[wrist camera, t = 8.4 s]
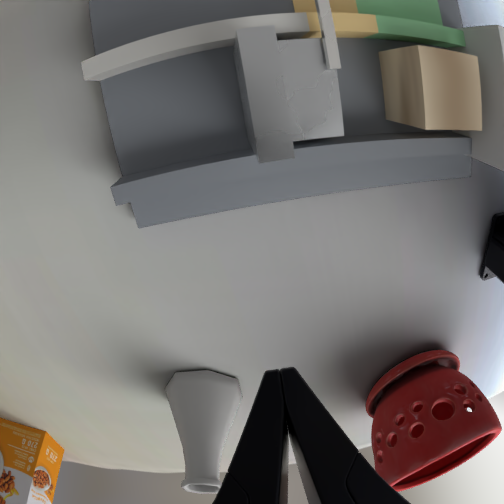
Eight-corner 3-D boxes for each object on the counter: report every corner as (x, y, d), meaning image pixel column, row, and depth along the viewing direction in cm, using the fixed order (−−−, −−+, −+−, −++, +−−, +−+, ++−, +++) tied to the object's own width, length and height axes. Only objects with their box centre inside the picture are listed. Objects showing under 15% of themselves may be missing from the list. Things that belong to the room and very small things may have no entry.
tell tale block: (433, 57, 13) (477, 56, 9) (439, 119, 15) (482, 130, 11) (378, 51, 13) (417, 45, 9) (385, 119, 15) (425, 129, 11)
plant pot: (371, 350, 25) (420, 463, 15) (471, 329, 26) (525, 409, 16) (340, 421, 31) (364, 507, 21) (428, 400, 32) (461, 470, 22)
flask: (165, 361, 24) (151, 469, 15) (250, 371, 25) (260, 477, 16) (165, 405, 27) (156, 494, 18) (236, 413, 28) (241, 500, 20)
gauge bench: (444, -14, 11) (502, -28, 5) (462, 172, 18) (519, 203, 12) (95, 5, 11) (43, -22, 6) (142, 221, 18) (111, 275, 13)
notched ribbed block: (300, -33, 10) (333, -81, 5) (328, 129, 15) (376, 149, 10) (217, -27, 10) (213, -79, 5) (248, 140, 15) (259, 163, 10)
